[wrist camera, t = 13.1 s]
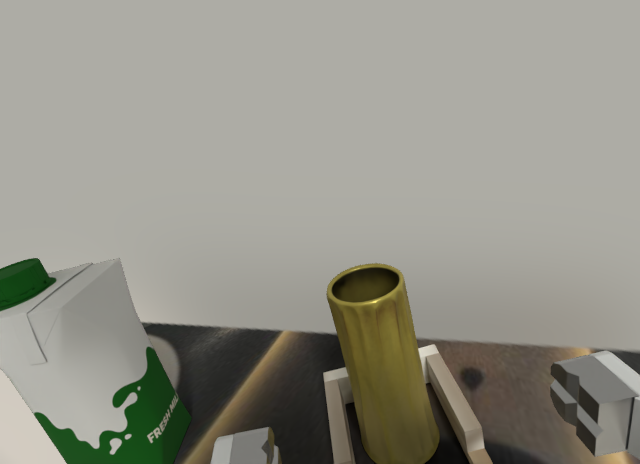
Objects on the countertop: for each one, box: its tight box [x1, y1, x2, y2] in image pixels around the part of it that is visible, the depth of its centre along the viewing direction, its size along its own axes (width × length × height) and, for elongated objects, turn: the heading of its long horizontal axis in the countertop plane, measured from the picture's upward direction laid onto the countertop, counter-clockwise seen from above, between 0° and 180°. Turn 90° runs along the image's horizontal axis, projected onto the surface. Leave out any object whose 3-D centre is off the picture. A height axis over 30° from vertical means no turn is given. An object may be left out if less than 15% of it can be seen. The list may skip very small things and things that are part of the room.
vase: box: [327, 263, 439, 464], centre depth 28 cm, size 6×6×14 cm
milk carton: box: [0, 258, 192, 464], centre depth 32 cm, size 9×9×20 cm
